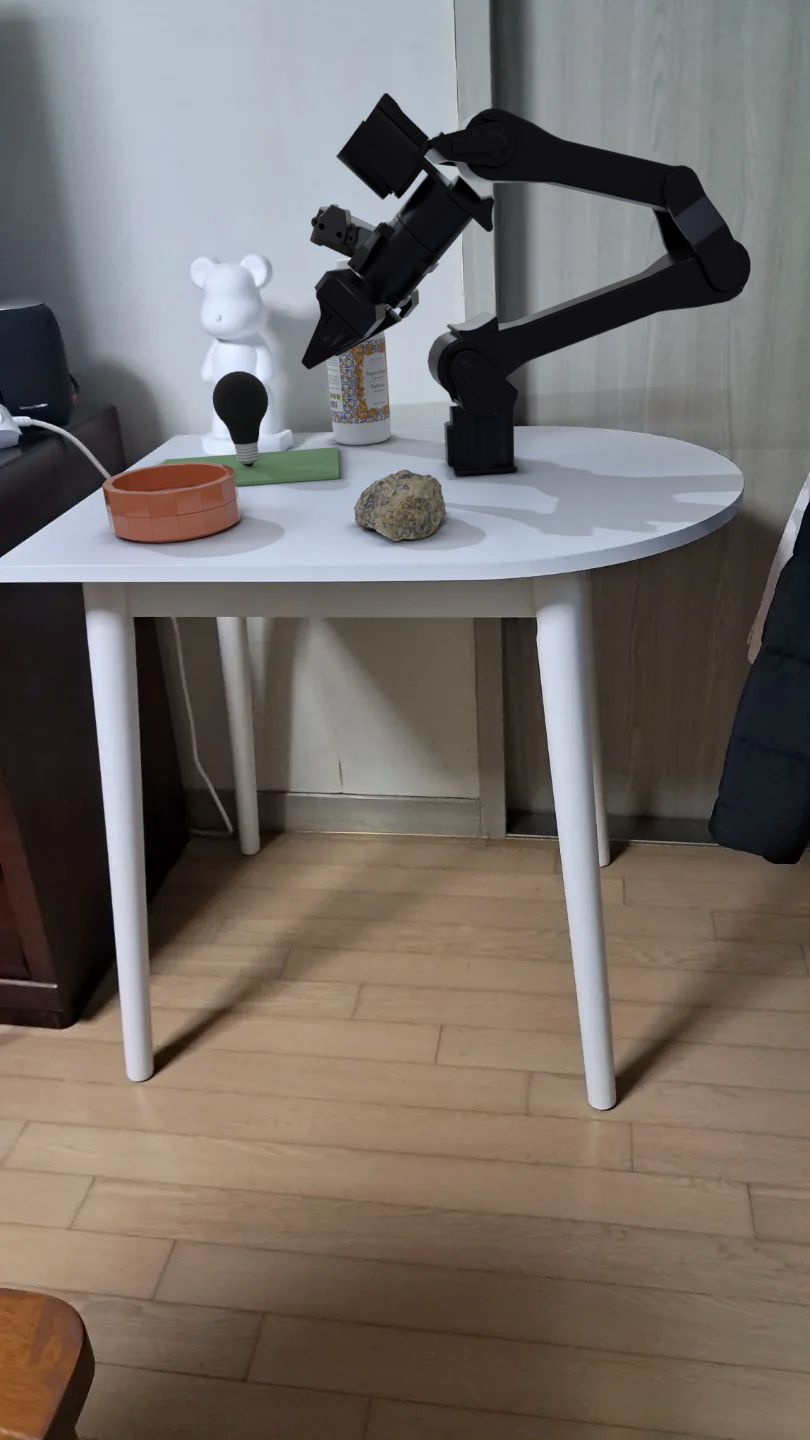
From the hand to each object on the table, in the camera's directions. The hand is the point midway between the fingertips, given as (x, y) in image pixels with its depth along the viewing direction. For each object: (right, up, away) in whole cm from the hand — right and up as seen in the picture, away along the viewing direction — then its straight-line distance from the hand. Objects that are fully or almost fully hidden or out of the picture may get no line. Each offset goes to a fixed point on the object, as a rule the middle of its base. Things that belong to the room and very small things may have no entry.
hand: (319, 359), depth 105 cm
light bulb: (-8, -9, +8) cm, 15 cm away
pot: (-12, -19, -11) cm, 25 cm away
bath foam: (+4, -3, +19) cm, 20 cm away
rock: (+8, -20, -16) cm, 27 cm away
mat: (-9, -9, +8) cm, 15 cm away
